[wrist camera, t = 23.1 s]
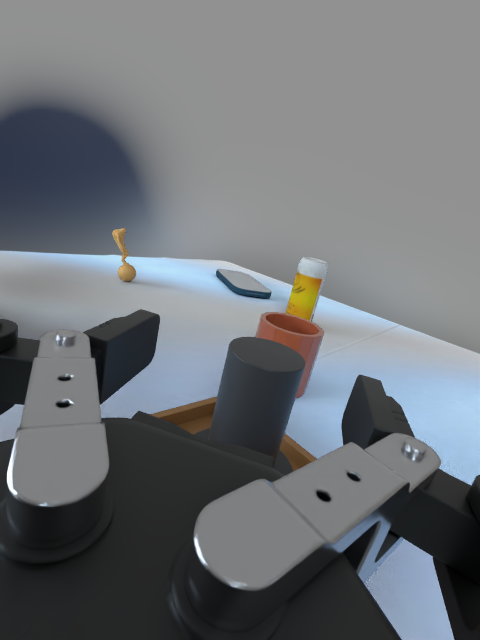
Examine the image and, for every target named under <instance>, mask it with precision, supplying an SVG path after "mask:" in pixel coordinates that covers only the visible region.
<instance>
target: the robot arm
mask: <svg viewBox="0 0 480 640" xmlns="http://www.w3.org/2000/svg"><path fill="white" fill-rule="evenodd" d="M159 324H160V316H159V315H158V314H155V313H152V312H148V311H145V310H142V309H141V310H138V311H136V312H134V313H132V314H130V315H128V316H126V317H120V318H113V319H111V320H109V321H107V322H105V323H103V324H100V325H98V326H96V327H94V328H92V329H90V330H87V331H85V332H83V333H82V332H79V331H74V330H53V331H49V332H46V333H45V334H43V335H42V336H41V340H40V341H39V340H32V339H25V338H18V325H17V324H16V323H14V322H12V321H9V320H5V319H0V415H1V414H3V413H4V412H6V411H7V410H9V409H10V408H12V407H13V406H14V405H15V404H22V405H24V409H23V414H22V419H21V424H20V428H18V429H17V431H16V435H15V439H11V440H7V441H3V442H0V640H402V639H401V638H400V636H399V635H398V633H397V632H396V630H395V629H394V627H393V626H392V624H391V623H390V622H389V620H388V619H387V617H386V616H385V614H384V613H383V611H382V610H381V608H380V607H379V605H378V604H377V602H376V601H375V599H374V598H373V596H372V595H371V593H370V592H369V590H368V589H367V587H366V586H365V584H364V583H365V582H366V581H367V579H368V578H369V577H370V576H371V574H372V573H373V572H374V571H375V570H376V569H377V568H378V567H379V566H380V565H381V564H382V563H383V562H384V561H385V559H386V558H387V557H388V556H389V555H390V554H391V553H392V552H393V551H394V550H395V549H396V548H397V547H398V546H399V545H400V543H401V542H402V541H403V539H405V540H407V541H409V542H410V543H412V544H413V545H415V546H417V547H418V548H420V549H422V550H423V551H425V552H426V553H428V554H430V555H431V556H433V562H434V566H435V570H436V574H437V577H438V581H439V585H440V588H441V592H442V595H443V599H444V603H445V606H446V610H447V614H448V617H449V621H450V625H451V628H452V632H453V636H454V639H455V640H480V475H478V476H477V477H476V478H475V480H474V482H473V484H472V485H469V484H467V483H465V482H463V481H461V480H459V479H457V478H455V477H453V476H451V475H449V474H447V473H445V472H444V471H442V470H440V469H439V467H440V465H441V460H440V458H439V456H438V455H437V453H436V452H435V451H434V450H433V449H432V448H431V447H429V446H428V445H427V444H425V443H424V442H422V441H420V440H418V439H416V438H415V436H414V434H413V432H412V430H411V428H410V425H409V423H408V421H407V419H406V416H405V414H404V412H403V410H402V407H401V406H400V405H399V404H398V403H397V402H396V401H395V400H394V399H393V398H392V397H389V396H386V394H385V391H384V388H383V386H382V383H381V381H380V380H377V379H374V378H370V377H367V376H363V375H359V376H358V377H357V379H356V381H355V384H354V387H353V389H352V392H351V395H350V398H349V400H348V403H347V406H346V408H345V411H344V414H343V419H342V436H343V445H344V446H342V447H340V448H338V449H336V450H334V451H332V452H330V453H328V454H326V455H325V456H323V457H321V458H319V459H317V460H315V461H313V462H311V463H309V464H307V465H305V466H303V467H301V468H299V469H297V470H295V471H294V472H292V473H290V474H288V475H286V476H284V475H283V474H281V473H280V472H278V471H277V470H275V469H273V468H272V467H273V462H274V457H272V456H269V455H266V454H263V453H260V452H257V451H254V450H252V449H249V448H246V447H243V446H240V445H234V444H228V443H222V442H216V441H209V440H204V439H201V438H198V437H197V436H195V435H193V434H191V433H190V432H188V431H186V430H184V429H182V428H181V427H179V426H177V425H175V424H174V423H172V422H170V421H167V420H164V419H161V418H158V417H155V416H152V415H149V414H146V413H144V412H141V411H138V412H137V413H136V414H135V415H134V416H133V417H132V418H131V419H128V418H101V412H100V405H101V404H102V403H103V402H104V401H105V400H107V399H108V398H109V397H110V396H111V395H113V394H114V393H115V392H116V391H118V390H119V389H120V388H121V387H122V386H124V385H125V384H126V383H127V382H128V381H130V380H131V379H132V378H133V377H135V376H136V375H137V374H138V373H139V372H141V371H142V370H143V369H144V368H145V367H147V366H148V365H149V364H150V362H151V361H152V359H153V356H154V353H155V349H156V342H157V336H158V330H159Z"/></svg>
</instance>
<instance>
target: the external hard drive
mask: <svg viewBox="0 0 480 640" xmlns="http://www.w3.org/2000/svg"><path fill="white" fill-rule="evenodd" d="M216 275H217V276H218V277H219V278H220V279H221V280H222V281H223V282H224V283H225V284H226V285H227V286H228V287H229V288H230V289H231V290H232V291H234V292H235V293H238V294H241V295H246V296H254V297H261V298H269V297H270V296H271V291H270V290H269V289H268V288H266V287H265V286H264V285H262V284H261V283H260V282H258V281H257V280H256V279H254V278H253V277H251V276H250V275H248V274H246V273H242V272H237V271H231V270H224V269H217V271H216Z"/></svg>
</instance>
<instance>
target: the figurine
mask: <svg viewBox="0 0 480 640" xmlns="http://www.w3.org/2000/svg"><path fill="white" fill-rule="evenodd" d="M125 230H126V229H125V228H122V229H120V230H114V231H113V232H112V234H113V237H114V239H115V241H116V242H117V245H118V247H119V248H120V251H121V252H122V253H123V255H122V262H123V263H124V265H122V266H121V267H120V268H119V269H118V276H119V277H120V279H122V280H123V281H131V280H133V279H134V278H135V276H136V271H135V269H134V267H133V266H131V265H129V263H126V261H125V260H124V259H125V258H126V257H127V256H128V251H127V250H126V248H125V246H124V244H123V241H124V234H125V233H126V232H124V231H125Z"/></svg>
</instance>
